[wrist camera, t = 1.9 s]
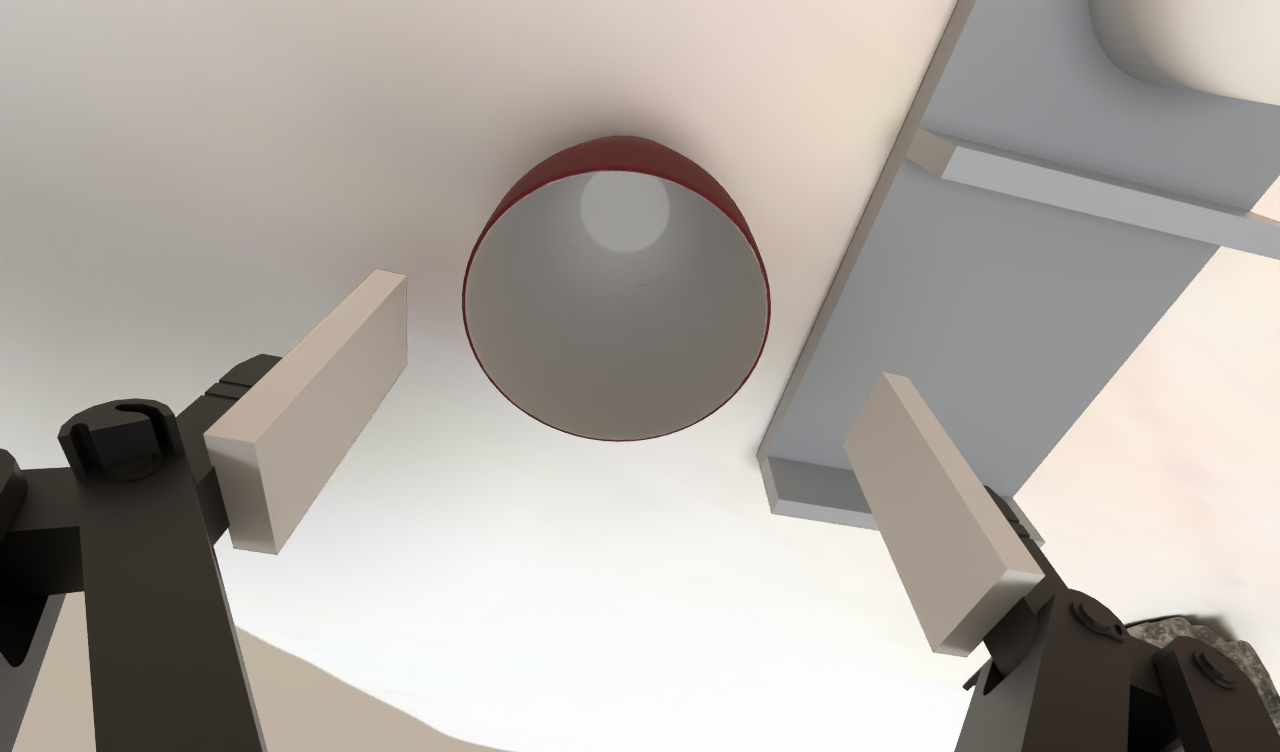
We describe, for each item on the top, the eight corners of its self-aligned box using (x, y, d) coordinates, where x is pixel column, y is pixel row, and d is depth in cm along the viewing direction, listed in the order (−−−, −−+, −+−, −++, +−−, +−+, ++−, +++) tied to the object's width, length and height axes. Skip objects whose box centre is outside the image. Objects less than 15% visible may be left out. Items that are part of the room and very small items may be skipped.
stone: (1230, 589, 44) (1349, 738, 38) (1128, 618, 48) (1222, 755, 43) (1207, 608, 35) (1356, 803, 30) (1085, 641, 39) (1197, 817, 34)
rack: (756, 454, 30) (771, 513, 27) (1245, -643, 12) (1480, -893, 9) (990, 494, 32) (1033, 554, 29) (1719, -423, 14) (2072, -561, 11)
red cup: (752, 317, 26) (805, 469, 18) (586, 360, 27) (562, 520, 19) (698, 67, 20) (739, 115, 12) (492, 136, 21) (399, 223, 13)
